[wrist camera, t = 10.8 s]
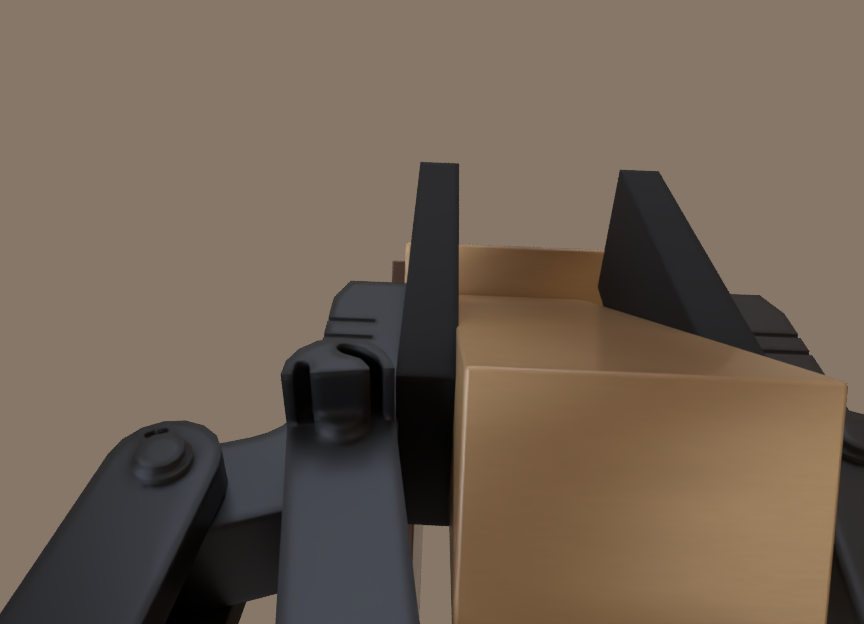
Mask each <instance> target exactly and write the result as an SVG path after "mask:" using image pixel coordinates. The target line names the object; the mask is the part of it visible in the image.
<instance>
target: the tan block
mask: <svg viewBox="0 0 864 624" xmlns="http://www.w3.org/2000/svg"><path fill="white" fill-rule="evenodd" d="M410 248H411V242H409V243H407V244H406V257H405V283H406V282H407V274H408V265H409V257H410ZM603 256H604V250H592V249H567V248H566V249H565V248H541V247H517V246H516V247H515V246H492V245H467V244H459V326H458V327H457V329H456V383H455V400H454V416H453V432H452V449H451V465H450V481H449V532H450V566H451V567H450V568H451V605H452V624H827V616H828V604H829V593H830V582H831V571H832V559H833V548H834V537H835V526H836V515H837V503H838V492H839V481H840V470H841V458H842V447H843V436H844V425H845V414H846V402H847V391H848V386H847V383H846V382H844V381H841V380H838V379H835V378H832V377H829V376H826V375H822V374H819V373H816V372H813V371H809V370H806V369H803V368H800V367H797V366H793V365H790V364H787V363H784V362H781V361H777V360H774V359H771V358H768V357H765V356H761V355H758V354H755V353H752V352H748V351H745V350H742V349H739V348H736V347H732V346H729V345H726V344H723V343H720V342H716V341H713V340H710V339H707V338H704V337H700V336H697V335H694V334H691V333H687V332H684V331H681V330H678V329H675V328H671V327H668V326H665V325H662V324H659V323H655V322H652V321H649V320H646V319H643V318H639V317H636V316H633V315H630V314H626V313H623V312H620V311H617V310H614V309H610V308H607V307H604V306H603V303H602V300H601V297H600V293H599V290H598V282H599V276H600V271H601V266H602V261H603Z"/></svg>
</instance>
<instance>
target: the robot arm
mask: <svg viewBox="0 0 864 624" xmlns="http://www.w3.org/2000/svg"><path fill="white" fill-rule="evenodd" d="M598 290H599V293H600V297H601V300H602V303H603V306H604V307H607V308H610V309H614V310H617V311H620V312H623V313H626V314H630V315H633V316H636V317H639V318H643V319H646V320H649V321H652V322H655V323H659V324H662V325H665V326H668V327H671V328H675V329H678V330H681V331H684V332H687V333H691V334H694V335H697V336H700V337H704V338H707V339H710V340H713V341H716V342H720V343H723V344H726V345H729V346H732V347H736V348H739V349H742V350H745V351H748V352H752V353H755V354H758V355H761V356H765V357H768V358H771V359H774V360H777V361H781V362H784V363H787V364H790V365H793V366H797V367H800V368H803V369H806V370H809V371H813V372H816V373H819V374H822V375H825V374H824V373H823V371H822V369H821V368H820V367H819V365H818V364H817V362H816V360H815V359H814V358H813V356H812V355H809V350H808V349H807V347H806V346H805V344H804V343H803V341H802V340H801V338H798V334H797V332H796V331H795V329H794V328H793V326H792V325H791V323H790V322H789V320H788V319H787V317H786V316H785V314H784V313H782V312H781V311H780V310H778V309H777V308H776V307H774V306H773V305H772V304H770V303H769V302H768V301H766V300H765V299H764V298H762V297H761V296H760V295H737V294H730V293H729V291H728V290H727V288H726V286H725V285H724V283H723V281H722V280H721V278H720V276H719V274H718V273H717V271H716V269H715V267H714V266H713V264H712V262H711V260H710V259H709V257H708V255H707V254H706V252H705V250H704V249H703V247H702V245H701V243H700V242H699V240H698V238H697V236H696V235H695V233H694V232H693V230H692V228H691V227H690V225H689V223H688V221H687V219H686V218H685V216H684V214H683V212H682V211H681V209H680V207H679V206H678V204H677V202H676V200H675V199H674V197H673V195H672V194H671V192H670V190H669V188H668V187H667V185H666V183H665V182H664V180H663V178H662V176H661V175H660V173H659V172H658V171H636V170H620V172H619V178H618V183H617V188H616V193H615V199H614V204H613V209H612V214H611V219H610V224H609V230H608V235H607V240H606V245H605V250H604V256H603V261H602V266H601V271H600V276H599V282H598ZM458 326H459V164H456V163H431V162H421V163H420V171H419V180H418V188H417V198H416V206H415V214H414V222H413V232H412V240H411V248H410V257H409V265H408V274H407V282H406V283H392V282H391V283H390V282H368V281H350V282H349V283H348V284H347V285H346V286H345V287H344V288H343V289H342V290H341V291H340V292H339V293H338V294H337V295H336V296H335V297H334V299H333V303H332V307H331V310H330V314H329V321H327V325H326V329H325V334H324V338H323V340H321V341H316V342H314V343H312V344H309V345H307V346H305V347H302V348H300V349H298V350H297V351H296V352H295V353H294V354H293V355H292V356H291V357H290V358H289V359H287V360H286V362H285V365H284V367H283V370H282V373H281V381H282V389H283V397H284V406H285V414H286V421H287V423H285V424H284V425H283V426H281V427H279V428H277V429H275V430H272V431H270V432H268V433H265V434H261V435H258V436H255V437H251V438H245V439H240V440H235V441H231V442H226V443H219V441H218V438H217V436H216V435H215V434H214V433H213V432H212V431H210V430H209V429H208V428H206V427H205V426H204V425H200V424H196V423H193V422H189V421H165V422H161V423H157V424H154V425H150V426H147V427H143V428H141V429H139V430H138V431H136V432H134V433H133V434H131V435H129V436H127V437H125V438H124V439H122V440H121V441H120V442H119V443H118V444H117V445H116V446H115V447H114V448H113V449H112V450H111V452H110V453H109V454H108V455H107V456H106V458H105V459H104V461H103V462H102V464H101V465H100V467H99V468H98V470H97V471H96V473H95V474H94V476H93V477H92V479H91V480H90V482H89V483H88V484H87V486H86V488H85V489H84V490H83V492H82V493H81V495H80V496H79V498H78V499H77V501H76V502H75V504H74V505H73V507H72V508H71V510H70V511H69V513H68V514H67V516H66V517H65V519H64V520H63V522H62V523H61V524H60V526H59V527H58V529H57V530H56V532H55V534H54V535H53V536H52V538H51V539H50V541H49V542H48V544H47V545H46V547H45V548H44V550H43V551H42V553H41V554H40V556H39V557H38V559H37V560H36V562H35V563H34V565H33V566H32V568H31V569H30V570H29V572H28V573H27V575H26V576H25V578H24V580H23V581H22V583H21V584H20V585H19V587H18V588H17V590H16V591H15V593H14V594H13V596H12V597H11V599H10V600H9V602H8V603H7V605H6V606H5V607H4V609H3V610H2V612H1V614H0V624H238V623H239V620H240V618H241V615H242V612H243V609H244V606H245V604H246V602H247V601H250V600H254V599H258V598H262V597H266V596H270V595H274V594H277V608H276V624H420V621H419V613H418V605H417V597H416V588H415V580H414V572H413V564H412V556H411V548H410V539H409V531H408V524H413V525H435V526H449V481H450V465H451V449H452V432H453V416H454V400H455V383H456V329H457V327H458ZM827 624H864V414H860V413H856V412H852V411H849V410H848V408H847V407H846V414H845V425H844V436H843V447H842V458H841V470H840V481H839V492H838V503H837V515H836V526H835V537H834V548H833V559H832V571H831V582H830V593H829V604H828V616H827Z"/></svg>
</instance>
